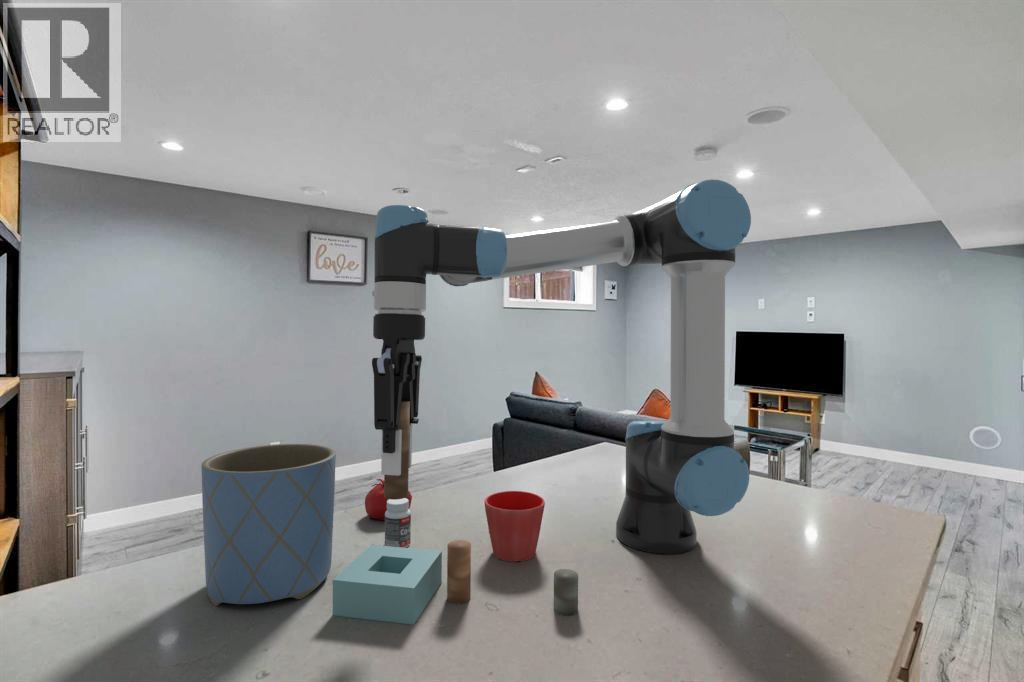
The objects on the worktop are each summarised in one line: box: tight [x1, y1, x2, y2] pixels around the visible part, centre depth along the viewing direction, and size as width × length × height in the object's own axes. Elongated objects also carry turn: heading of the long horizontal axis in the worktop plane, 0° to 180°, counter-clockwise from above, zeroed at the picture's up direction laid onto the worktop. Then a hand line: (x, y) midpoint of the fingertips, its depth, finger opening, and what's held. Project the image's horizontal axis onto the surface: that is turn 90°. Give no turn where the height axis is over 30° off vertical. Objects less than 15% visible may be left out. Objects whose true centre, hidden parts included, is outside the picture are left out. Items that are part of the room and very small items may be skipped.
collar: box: [332, 544, 443, 626], centre depth 75 cm, size 12×12×5 cm
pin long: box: [383, 400, 410, 500], centre depth 75 cm, size 4×4×14 cm
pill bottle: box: [384, 498, 412, 548], centre depth 94 cm, size 5×5×8 cm
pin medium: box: [446, 539, 472, 605], centre depth 75 cm, size 4×4×8 cm
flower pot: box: [483, 490, 546, 563], centre depth 91 cm, size 11×11×10 cm
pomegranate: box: [364, 478, 413, 521], centre depth 109 cm, size 10×10×9 cm
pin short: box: [553, 568, 579, 617], centre depth 73 cm, size 4×4×5 cm
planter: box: [200, 443, 337, 607], centre depth 80 cm, size 19×19×20 cm
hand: (396, 470), depth 75 cm, fingers closed on pin long, 3 cm apart
